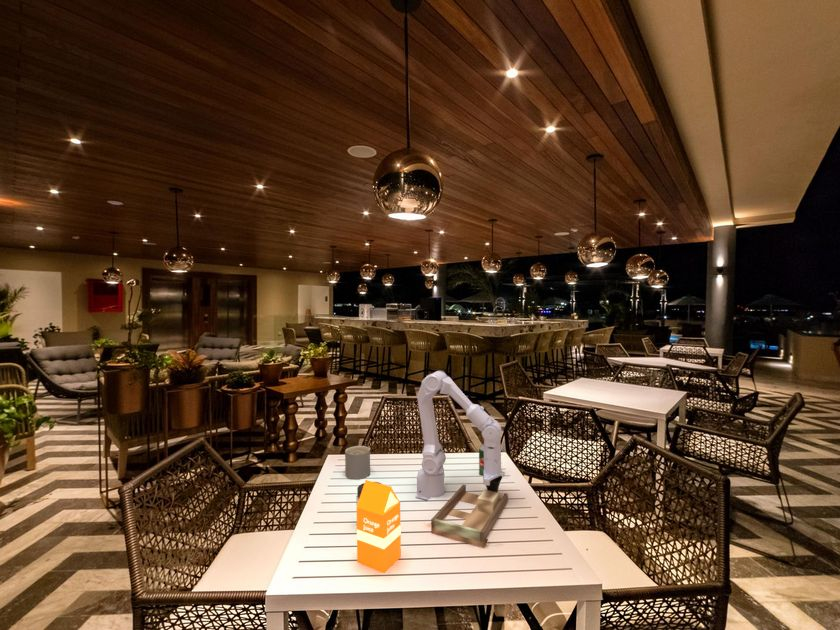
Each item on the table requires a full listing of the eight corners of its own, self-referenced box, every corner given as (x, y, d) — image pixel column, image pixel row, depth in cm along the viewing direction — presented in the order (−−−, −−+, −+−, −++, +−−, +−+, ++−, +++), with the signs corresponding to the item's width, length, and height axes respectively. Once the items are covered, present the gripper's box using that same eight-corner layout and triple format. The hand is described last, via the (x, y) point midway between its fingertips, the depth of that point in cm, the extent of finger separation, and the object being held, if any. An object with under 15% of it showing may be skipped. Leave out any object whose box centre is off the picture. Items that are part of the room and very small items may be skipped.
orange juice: (374, 546, 104) (374, 474, 105) (401, 556, 100) (400, 481, 100) (356, 562, 98) (355, 485, 98) (384, 573, 93) (383, 493, 93)
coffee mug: (359, 481, 146) (358, 456, 146) (340, 476, 152) (340, 451, 152) (380, 469, 158) (380, 445, 158) (362, 465, 163) (361, 442, 163)
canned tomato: (475, 474, 152) (474, 447, 152) (488, 469, 156) (488, 443, 157) (489, 481, 145) (489, 452, 145) (503, 476, 150) (502, 448, 150)
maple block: (477, 510, 120) (477, 498, 120) (484, 501, 126) (484, 489, 126) (493, 514, 118) (492, 501, 118) (499, 504, 124) (498, 492, 124)
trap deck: (431, 533, 111) (431, 519, 111) (463, 495, 134) (463, 484, 134) (483, 547, 103) (483, 533, 103) (507, 505, 126) (507, 493, 126)
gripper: (498, 467, 118) (498, 510, 118) (509, 452, 131) (510, 491, 131) (476, 463, 122) (477, 505, 122) (489, 449, 135) (490, 487, 134)
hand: (492, 498), depth 127 cm, fingers closed
